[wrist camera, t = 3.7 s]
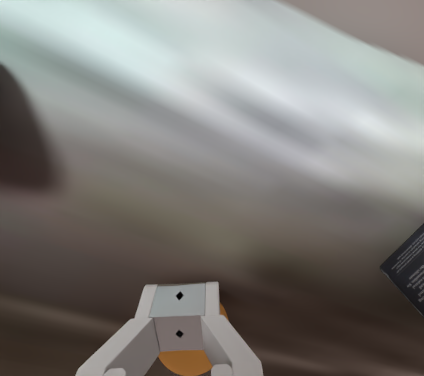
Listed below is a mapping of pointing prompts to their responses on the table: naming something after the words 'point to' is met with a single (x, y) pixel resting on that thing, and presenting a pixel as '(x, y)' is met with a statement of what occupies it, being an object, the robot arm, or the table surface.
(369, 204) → the table surface
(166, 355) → the ball
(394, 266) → the small box
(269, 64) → the table surface
